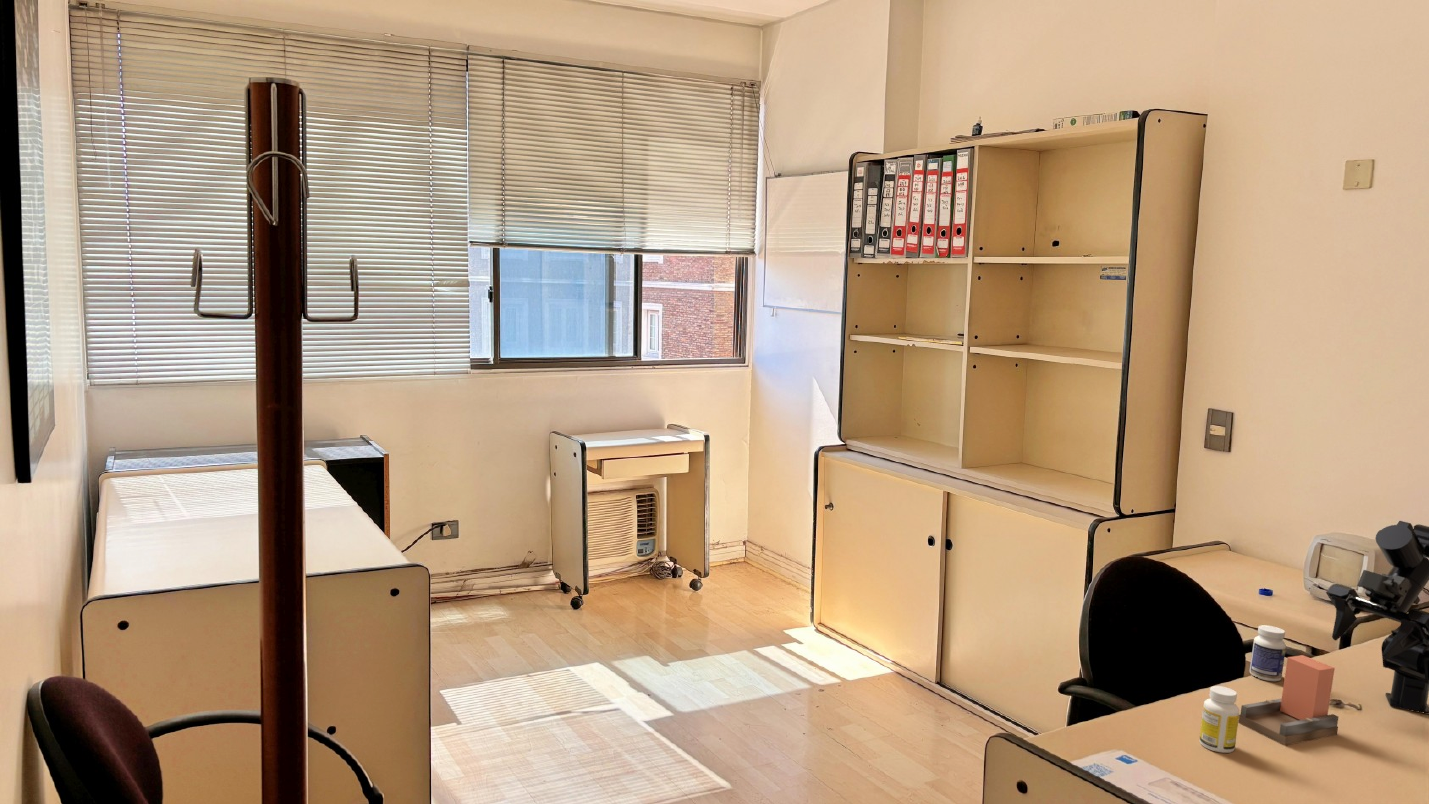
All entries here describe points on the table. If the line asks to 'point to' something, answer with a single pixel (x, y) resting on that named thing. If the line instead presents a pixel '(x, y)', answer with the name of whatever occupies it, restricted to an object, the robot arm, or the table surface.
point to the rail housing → (1285, 723)
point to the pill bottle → (1268, 653)
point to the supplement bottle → (1220, 720)
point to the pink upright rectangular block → (1306, 688)
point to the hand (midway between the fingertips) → (1358, 648)
